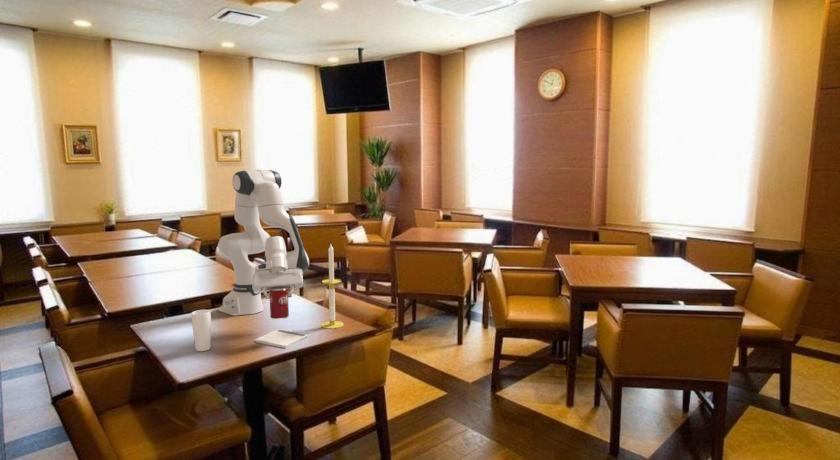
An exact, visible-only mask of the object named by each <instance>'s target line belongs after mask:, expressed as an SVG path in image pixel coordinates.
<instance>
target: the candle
mask: <svg viewBox="0 0 840 460" xmlns="http://www.w3.org/2000/svg"><path fill="white" fill-rule="evenodd" d="M334 257H335V256H334V247H333V246H332V243H330V245H329V248H328V278H327V279H323V280H322V281H321V283H322V284H325V285H328V307H329V308H328V309H329V310H328V312H329V317H328V318H329V321H325V322H323V323H321V324H320V325H321V328H322V327H323V329H326V330H328V329H329V330H336V329H340V328H342V327H344V326H345V325H344V323H343V322H342V321H337V320H336V300H335V299H336V296H335V295H336V294H335V293H336V292H335V291H336V290H335V289H336V288H335V286H336V284H339V283H342V280H341V279H339V278H335V265H334V264H335V263H334V261H335V260H334ZM335 328H336V329H335Z"/></svg>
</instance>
